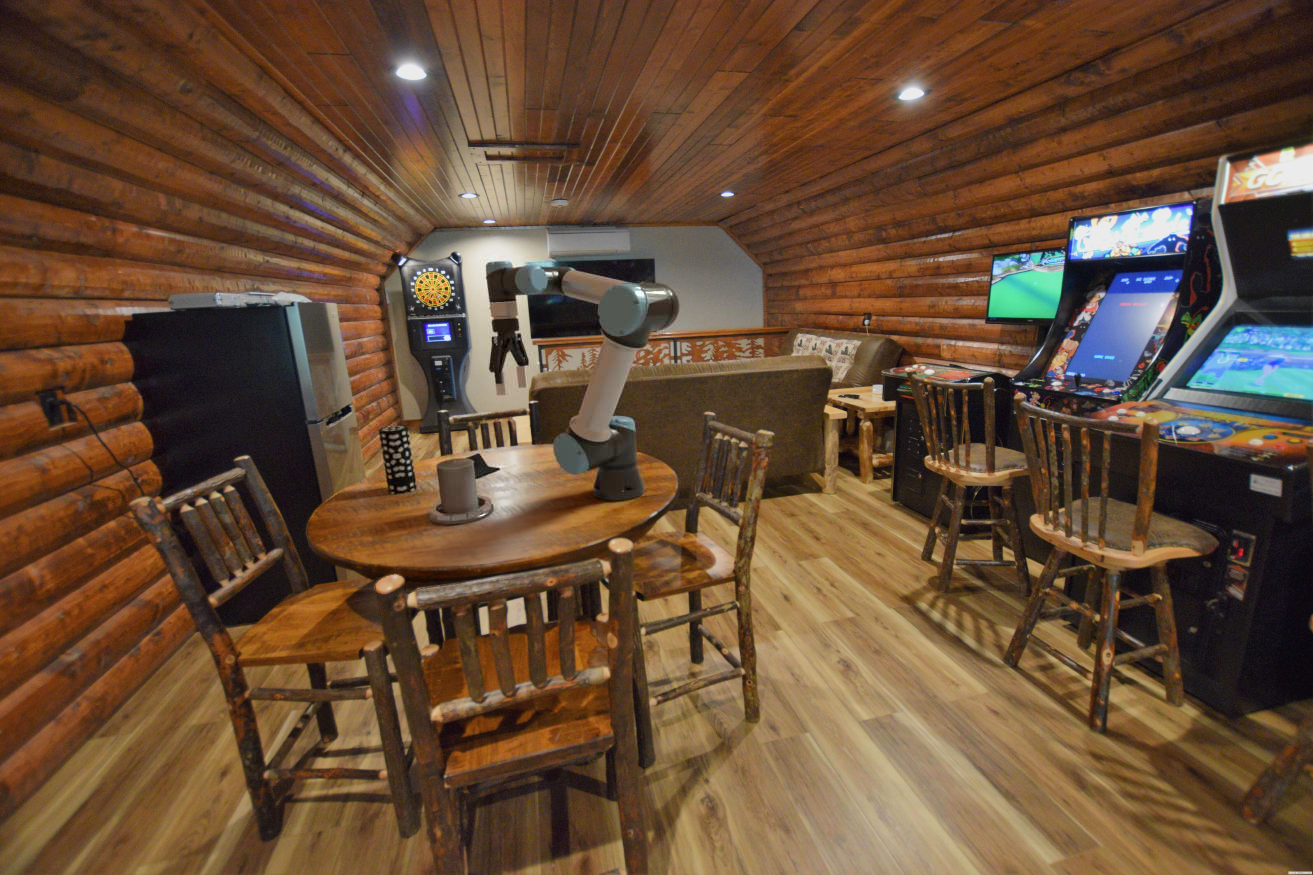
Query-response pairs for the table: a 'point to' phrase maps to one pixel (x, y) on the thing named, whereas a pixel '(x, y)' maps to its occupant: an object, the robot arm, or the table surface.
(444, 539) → the table surface
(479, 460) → the handheld gaming console
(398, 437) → the white-spotted black cylinder
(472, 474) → the pillar candle
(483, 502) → the ring plate
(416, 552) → the table surface
